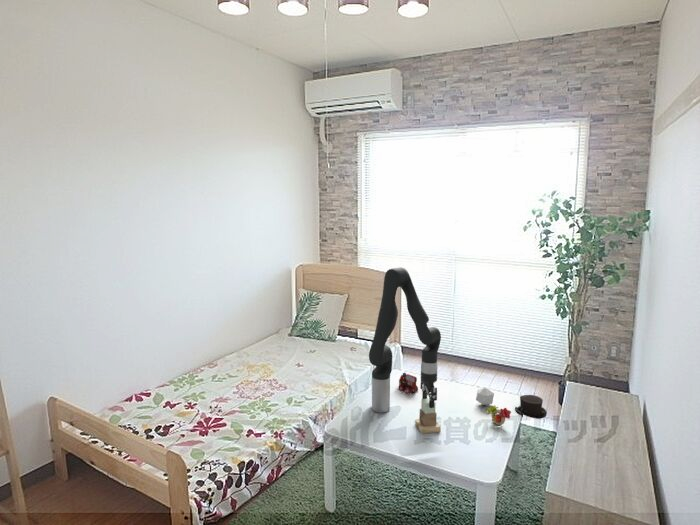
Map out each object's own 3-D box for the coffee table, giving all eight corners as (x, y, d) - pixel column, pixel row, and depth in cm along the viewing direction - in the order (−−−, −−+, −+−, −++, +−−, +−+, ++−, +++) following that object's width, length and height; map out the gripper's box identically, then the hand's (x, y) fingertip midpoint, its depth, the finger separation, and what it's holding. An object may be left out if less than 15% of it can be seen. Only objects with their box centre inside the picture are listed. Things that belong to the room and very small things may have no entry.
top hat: (531, 403, 240) (532, 384, 239) (553, 415, 226) (554, 395, 225) (508, 408, 234) (509, 389, 233) (529, 421, 221) (531, 400, 219)
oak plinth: (415, 424, 217) (415, 419, 217) (432, 422, 219) (433, 417, 219) (422, 433, 208) (422, 428, 208) (440, 431, 210) (440, 426, 210)
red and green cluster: (491, 418, 223) (492, 400, 222) (513, 426, 215) (514, 407, 214) (485, 422, 219) (485, 404, 218) (506, 430, 211) (507, 412, 210)
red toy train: (404, 386, 262) (404, 369, 261) (420, 393, 253) (420, 375, 251) (395, 389, 258) (395, 372, 257) (411, 396, 248) (411, 378, 247)
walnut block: (419, 420, 215) (419, 408, 215) (431, 419, 217) (431, 407, 216) (424, 426, 210) (424, 414, 209) (436, 425, 211) (436, 413, 210)
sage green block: (421, 409, 214) (421, 399, 214) (431, 408, 215) (431, 398, 215) (425, 413, 209) (425, 403, 209) (435, 412, 210) (435, 402, 210)
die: (496, 407, 235) (497, 389, 234) (482, 410, 232) (483, 391, 230) (486, 401, 243) (487, 383, 241) (472, 403, 239) (473, 385, 238)
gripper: (443, 375, 204) (441, 409, 206) (430, 364, 218) (429, 396, 220) (427, 376, 202) (426, 411, 204) (415, 365, 216) (415, 397, 218)
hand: (428, 403), depth 212 cm, fingers open, 8 cm apart
